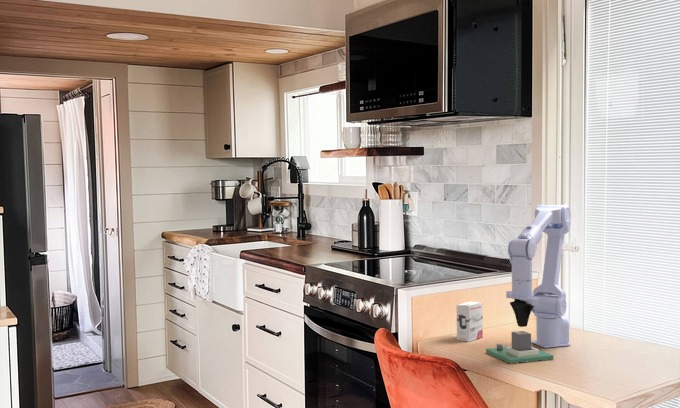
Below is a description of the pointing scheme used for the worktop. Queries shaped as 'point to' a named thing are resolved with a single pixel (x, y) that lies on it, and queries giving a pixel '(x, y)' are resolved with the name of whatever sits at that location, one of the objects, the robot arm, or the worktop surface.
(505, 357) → the board
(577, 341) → the worktop surface
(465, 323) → the ink box
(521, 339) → the plug
